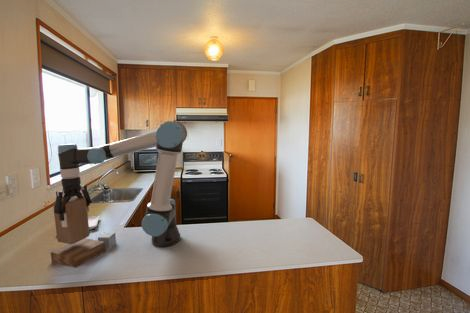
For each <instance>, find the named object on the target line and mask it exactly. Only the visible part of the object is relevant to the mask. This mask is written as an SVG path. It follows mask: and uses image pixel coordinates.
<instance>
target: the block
mask: <svg viewBox="0 0 470 313" xmlns="http://www.w3.org/2000/svg"><path fill="white" fill-rule="evenodd" d="M62 201H63V199H62ZM55 202H56V200H54V201H53V203H52V208H53V209H54V208H55ZM64 213H66V216H67V225H68V227H62V222H61V221H60V218H59V214H55V213H54V212H53V215H54V216H53V217H54V223H55V233H56V240H57V242H58V243H63V244H66V245H67V244H74V243H76V242H78V241H80V240H82V239H84V238H88V237H89V236H90V230H89V225H88V217H89V215H88V216H87V206H86V199H85V198H78V197H77V196H73V197H71V199H70V200H69V202H67V203H66V204H65V212H64Z"/></svg>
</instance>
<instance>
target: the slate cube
mask: <svg viewBox="0 0 470 313" xmlns="http://www.w3.org/2000/svg"><path fill="white" fill-rule="evenodd" d="M97 240H98V241H104V242H105V249H111V248H112V247H114V246H115V245H116V244H117V237H116V232H110V231H109V232H108V231H107V232H103V233H102V234H100V235H99V236H97ZM115 243H116V244H115Z"/></svg>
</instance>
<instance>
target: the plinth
mask: <svg viewBox="0 0 470 313" xmlns="http://www.w3.org/2000/svg"><path fill="white" fill-rule="evenodd" d="M106 251H107V250H106V248H105V242H104V241H98V239H91V238H88V237H86V238H84V239H82V240H80V241H78V242H76V243H74V244H67V243H66V244H65V245H63V246H60V247H58V248H57V249H53V250H52V251H50V259H51V260H50V261H51V263H54V264H58V265H62V266H66V267H70V268H76V269H77V268H79V267H81V266H82V265H83V264H86V263H87V262H89V261H91V260H93V259H94V258H96V257H98V256H99V255H101V254H104V253H105V252H106Z"/></svg>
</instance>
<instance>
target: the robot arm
mask: <svg viewBox="0 0 470 313" xmlns="http://www.w3.org/2000/svg"><path fill="white" fill-rule="evenodd" d="M187 138H188V130H187V128H186V126H185V125H184V124H183V123H181V122H179V121H172V120H168V121H167V120H166V121H164V122H163V123H161V124H159V125H158V127H157V128H156V130H155V131H152V132H149V133H144V134H141V135H140V134H139V135H136V136H132V137H130V138H129V137H128V138H127V139H125V138H124V139H122V140H118V141H114V142H110V143H107V144H103V145H99V146H93V147H78V146H77V144H76V143H64V144H59V145H58V146H57V157H58V161H59V170H60V178H61V180H60V181H61V186H62V190H60V191H57V190H56V192H55V195H56V198H55V201H56V202H55V201H54V202H55V208H53V214H54V213H55V214H59V218H60V221H61V222H62V227H68V225H67V216H66V213H64V212H65V204H66V203H67V202H69V200H70V199H71V197H78V198H85V199H86V206H87V216H88V217H89V212H90V209H89V206H90V205H91V204H92V202H93V201H92V199H91V196H90V193H89V191H88V186H87V185H85V184H81V182H82V181H81V176H80V175H81V172H80V165H92V164H93V165H99V164H103V163H104V162H105V161H106V160H110V159H114V158H117V157H122V156H125V155H129V154H133V153H137V152H140V151H144V150H148V149H151V148H155V150H156V151H157V152H158V154H157V155H158V156H157V162H156V166H155V167H156V168H155V174H154V180H153V181H154V182H153V186H152V187H153V188H152V194H151V198H150V199H151V200H150V202H148V203H147V205H146V211H145V215H144V217H143V218H142V220H141V228H142V231H143V232H144V233H145V234H147V235H148V236H151V245H153V246H154V247H158V248H160V247H161V248H167V247H170V246H174V245H176V244H178V243H179V242H180V241H181V239H182V238H181V233H180V231H179V228H178V226H177V214H176V209H177V208H176V200H175V199H173V198H172V197H171V196H172V192H173V186H174V180H175V179H174V178H175V172H176V166H177V162H178V156H179V155H180V154H181V153H182V151H183V145H184V142H185V141H186V139H187ZM62 199H63V201H62Z"/></svg>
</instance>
